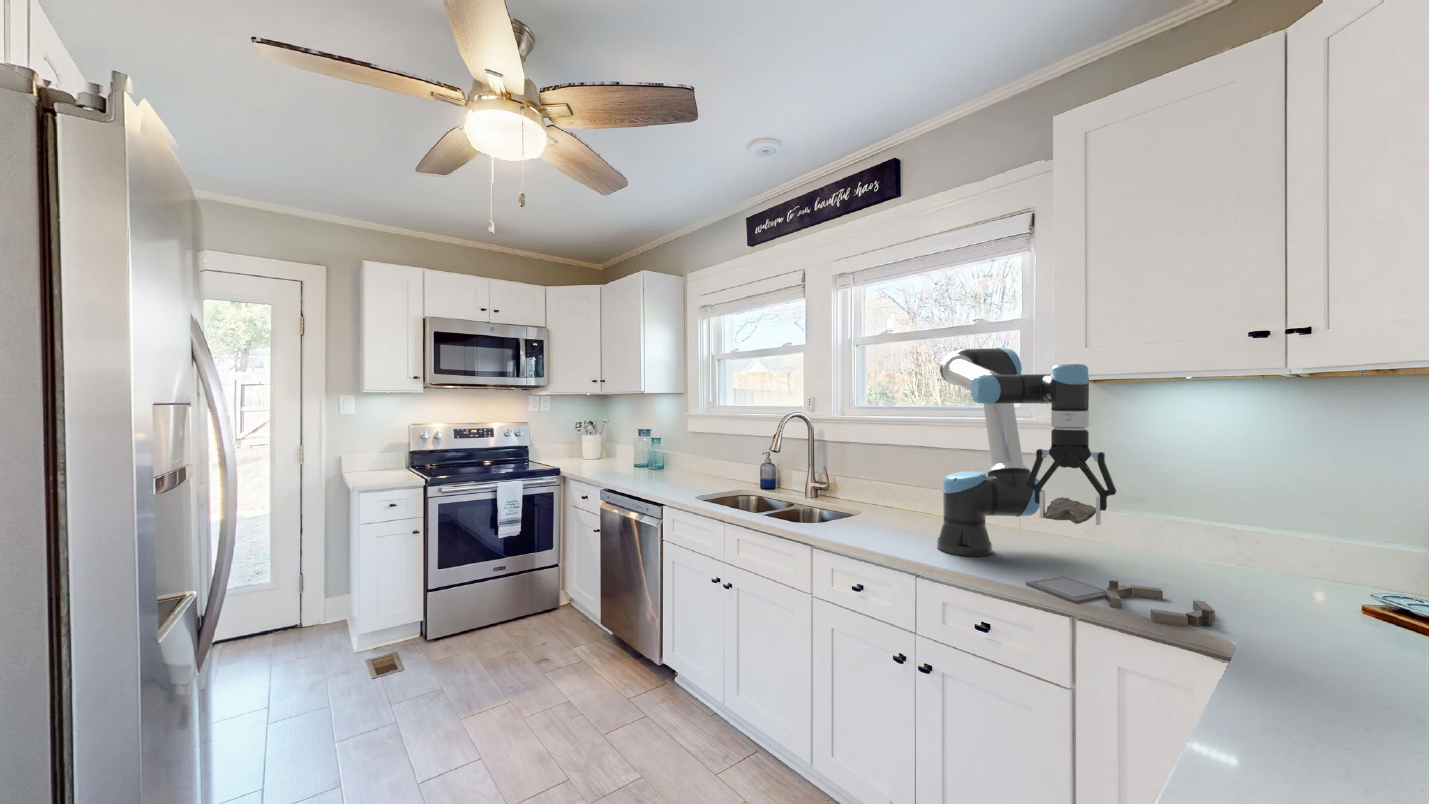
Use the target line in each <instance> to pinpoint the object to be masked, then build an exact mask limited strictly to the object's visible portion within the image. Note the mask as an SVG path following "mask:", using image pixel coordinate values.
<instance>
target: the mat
mask: <svg viewBox="0 0 1429 804" xmlns="http://www.w3.org/2000/svg"><path fill="white" fill-rule="evenodd" d="M1025 586H1027V587H1031V588H1033V589H1036V590H1038V591H1041V592H1043V593H1047V594H1049V595H1052V596H1055V597H1057V598H1060V599H1062V600H1065V601H1068V602H1071V603H1074V604H1080V603H1084V602H1091V601H1095V600H1096V601H1097V600H1101V599H1105V590H1106V589H1103V588H1101V587H1098V586H1095V585H1092V584H1088V583H1086V582H1083V581H1079V580H1077V579H1074V578H1070V577H1067V576H1064V575H1062V576H1057V577H1056V576H1055V577H1050V578H1044V579H1038V580H1033V581H1027V582H1026V581H1025Z"/></svg>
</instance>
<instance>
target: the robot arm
mask: <svg viewBox="0 0 1429 804" xmlns="http://www.w3.org/2000/svg"><path fill="white" fill-rule="evenodd" d="M1022 370H1023V369H1022V363H1021V360H1020V357H1019V356H1018V354H1017V352H1015V351H1014V350H1013V349H1011V348H1001V347H995V348H961V349H957V350H954V351H951V352H950V353H948V354H947V355H946V356H945V357H943V359H942V360H941V362H940V364H939V372H940V376H941V377H942V379H943V380H944V381H946V382H947V383H948V384H950V385H953V386H961V387H963V388H964V389H966V390H968V391H969V392H970V394H971V397H972V400H973V401H974V402H975V403H977V404H982V405H983V410H984V411H983V412H984V419H985V425H986V427H985V428H986V432H987V439H988V446H989V456H990V463H991V467H990V469H988V471H987V475H986V474H985V472H983V471H979V470H977V471H976V470H975V471H969V470H968V471H967V470H966V471H959V472H958V471H957V472H954V473H950V474H947V475H946V476H945V477H944V479H943V487H942V492H943V499H942V500H943V504H942V505H943V523H942V526H941V530H940V533H939V536H938V537H937V545H936V547H937V548H938V549H939V550H940V551H942V552H944V553H948V554H952V555H956V556H957V555H958V556H964V557H986V556H989V555H991V554H992V553H993V544H992V542H991V541H990V537H989V534H988V533H989V532H988V529H987V526H986V516H988V517H989V516H992V517H995V516H996V517H998V516H999V517H1017V518H1020V517H1030V516H1033V515H1035V514H1036V513H1037V512H1038V510H1039V519H1045V518H1044V514H1045V513H1046V490H1044V489H1043V487H1044V486H1045V484H1046V483H1047V482H1048V481H1049V480H1050V478H1051V477H1052V475H1054V473H1055V472H1056V471H1057V470H1058V468H1059V467H1061V468H1072V469H1080V470H1081V471H1082V472H1083V475H1085V477H1086V478H1087V479H1088V481H1089V482H1090V484H1091V485H1092V486H1093V488H1094V490H1095V491H1096V492H1097V493H1098V494H1096V496H1095V508H1096V513H1095V526H1101V524H1102V511H1107V508H1108V497H1109V496H1114V495H1116V493H1117V489H1116V487H1115V484H1114V482H1113V479H1112V477H1111V473H1110V472H1109V469H1108V467H1107V464H1106V453H1105V452H1103V451H1100V452H1098V451H1097V452H1095V451H1091V450H1090V447H1089V445H1090V444H1089V441H1090V438H1089V437H1090V436H1089V435H1090V433H1089V431H1088V429H1087V428H1089V426H1090V423H1089V422H1090V421H1089V415H1090V413H1089V412H1090V411H1089V407H1090V406H1089V402H1090V397H1089V396H1090V392H1089V391H1090V377H1089V367H1088V366H1087V365H1086V364H1083V363H1068V364H1055V365H1053V366H1052V367H1051V371H1050V372H1051V373H1048V374H1047V373H1044V374H1043V373H1041V374H1040V373H1039V374H1037V373H1035V374H1033V373H1032V374H1022ZM1015 404H1042V405H1043V404H1044V405H1045V404H1047V405H1048V404H1051V405H1050V406H1051V408H1050V410H1051V412H1050V413H1051V415H1050V416H1051V420H1050V421H1051V423H1050V424H1051V425H1050V426H1051V427H1052V428H1053V429H1052V430H1051V432H1050V433H1051V435H1050V436H1051V440H1050V441H1051V445H1050V448H1049V449H1043V448H1038V449H1036V450H1035V454H1036V455H1035V461H1034V464H1033V466H1032V469H1030V468H1029V467H1027V466H1025V464H1024V461H1023V455H1022V454H1023V453H1022V447H1021V442H1020V435H1019V429H1018V423H1017V422H1018V421H1017V416H1016V409H1015ZM1048 456H1050V457H1051V458H1052V459H1053V462H1052V464H1051V465H1050V467H1049V468H1048V469H1047V470H1046V472H1045V473H1044V474H1043V476H1042V477H1041V478H1040V479H1039V478H1037V477H1038V474H1039V471H1040V470H1041V467H1042V464H1043V462H1044V459H1046V458H1047V457H1048ZM1090 457H1092V458H1093V460H1094V462H1097V465H1098V468H1099V470H1100V473H1101V475H1102V478H1103V481H1104V483H1105V486H1106V489H1105V488H1104V486H1103V485H1102V484H1101V482H1100V481H1099V480H1098V478H1097V477H1096V475H1095V474H1094V473H1093V471H1092V470H1091V468H1090V467H1089V465H1088V464H1087V461H1088V459H1090Z"/></svg>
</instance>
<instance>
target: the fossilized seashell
mask: <svg viewBox="0 0 1429 804" xmlns="http://www.w3.org/2000/svg"><path fill="white" fill-rule="evenodd" d="M1095 515H1096V506H1093V505H1091V504H1086V503H1082V502H1080V501H1078V500H1073V499H1072V500H1071V499H1070V498H1069V497H1057V498H1054V499H1053V500H1052V501H1050V504H1049V505H1048V506H1047V507H1046V510H1045V514H1044V518H1043V519H1047V520H1048V519H1049V520H1054V521H1070V522H1072V523H1074V524H1075V525H1079V524H1082V523H1084V522H1087V521H1088V520H1090V519H1091V518H1093V516H1095Z"/></svg>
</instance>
